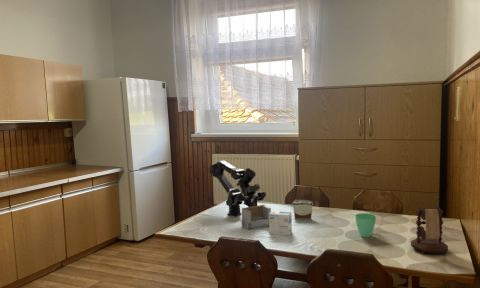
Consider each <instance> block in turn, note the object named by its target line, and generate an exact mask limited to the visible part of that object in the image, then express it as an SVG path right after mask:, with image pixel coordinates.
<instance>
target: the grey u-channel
mask: <svg viewBox="0 0 480 288" xmlns="http://www.w3.org/2000/svg"><path fill="white" fill-rule="evenodd" d="M271 211H272V209H271V207H269V206H267V205H265V206H263V217H257V218H252V219H251V211H249V210H247V209H243V220H242V219H241V228H242V229H243V230H245V231H251V230H257V229H262V228H267V227H268V228H269V213H270V212H271Z"/></svg>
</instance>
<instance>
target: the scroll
mask: <svg viewBox="0 0 480 288" xmlns="http://www.w3.org/2000/svg"><path fill="white" fill-rule="evenodd" d="M443 213H444V210H443V209H441V208H440V206H439V205H434V207H433V208H432V209H431V208H428V209H426V208H425V207H424V206H423V205H420V206H419V208H418V209H417V211H416V216H417V217H416V221H415V224H416V227H417V228H416V236H417V237H416V238H415V239H413V240H411V241H410V246H411V247H412V248H413V249H415V250H416V251H417V250H418V251H421V252H422V254H423V253H430V254H431V253H432V254H441V253H442V254H443V253H444V254H445V253H446V254H447V252H448V251H449V246H448V244H446V243H445V242H444V241H443V238H442V236H443V231H442V230H443V227H442V226H443V224H444V221H443ZM422 225H425V228H424V227H423V226H422Z"/></svg>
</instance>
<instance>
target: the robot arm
mask: <svg viewBox="0 0 480 288" xmlns="http://www.w3.org/2000/svg"><path fill="white" fill-rule="evenodd" d="M208 172H209V174H210V175H211V176H212V177H214V178H216V179H217V180H218V181H219V182H220V184H221V186H222V188H223V189H224V190H225V192H226V194H227V199H226V201H225V204H226V206H228V213H227V215H226V216H232V217H238V216H242V212H241V206H240V205H244V206H246V207H253V206H258V202H261V201H264V199H265V197H266V196H267V193H266V192H265V191H259V190H260V188H261V186H260V184H259V183H256V184H254V185H251V184H250V183H252V182H253V180H254V179H255V177H256V176H257V175H256V172H255V171H254V170H253V169H251V168H250V167H247V168H245V169H243V168H240V167H235V166H234V165H232V164H231V163H228V162H227V161H226V160H218V161H217V162H216V163H214V164H212V165H211V166H210V167H209V169H208ZM224 172H227V173H229V174H230V176H231V177H230V178H232V179H233V180H234V181H236V180H238V181H237V183H236V186H239V188H240V189H239V188H234V186H233V185H232V183H231V181H229V179H228V178H227V176H226V175H225V173H224ZM240 190H241V191H240ZM258 191H259V192H258ZM257 192H258V193H257ZM256 193H257V194H256Z"/></svg>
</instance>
